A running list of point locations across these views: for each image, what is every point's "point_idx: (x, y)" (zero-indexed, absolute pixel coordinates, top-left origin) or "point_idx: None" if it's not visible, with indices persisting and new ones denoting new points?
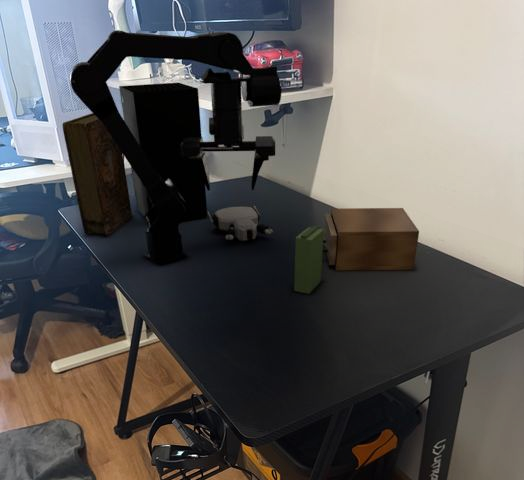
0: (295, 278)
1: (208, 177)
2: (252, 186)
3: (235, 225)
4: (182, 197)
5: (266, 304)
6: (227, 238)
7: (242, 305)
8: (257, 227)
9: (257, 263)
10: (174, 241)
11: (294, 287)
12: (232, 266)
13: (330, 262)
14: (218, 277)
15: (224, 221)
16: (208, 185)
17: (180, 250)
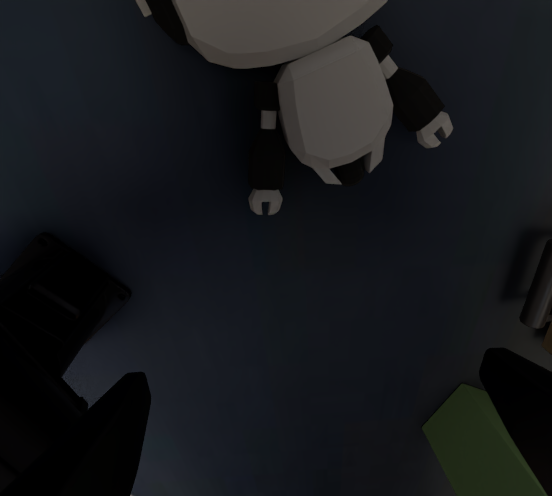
0: (437, 455)
1: (98, 484)
2: (502, 410)
3: (290, 136)
4: (2, 481)
5: (360, 467)
6: (259, 214)
7: (317, 473)
8: (391, 98)
9: (355, 315)
10: (80, 346)
11: (425, 434)
12: (286, 335)
13: (549, 350)
14: (257, 389)
15: (225, 65)
16: (136, 455)
17: (104, 291)
